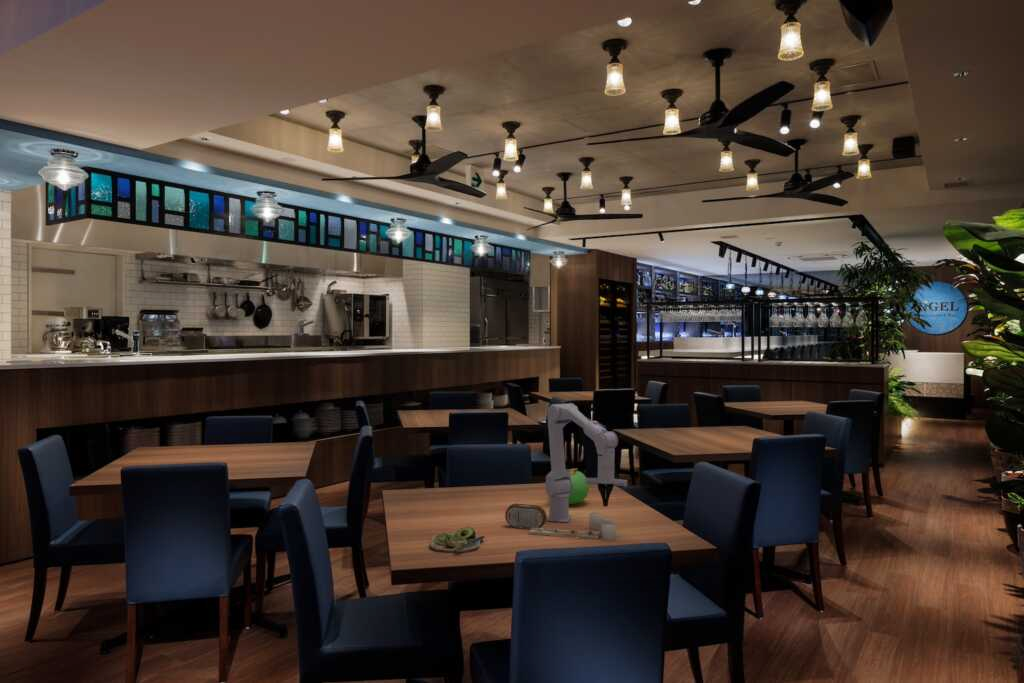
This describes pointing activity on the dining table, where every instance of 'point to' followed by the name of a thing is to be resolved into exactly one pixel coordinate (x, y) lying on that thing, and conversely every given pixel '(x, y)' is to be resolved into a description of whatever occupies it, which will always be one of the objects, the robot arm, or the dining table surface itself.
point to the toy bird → (577, 487)
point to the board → (565, 533)
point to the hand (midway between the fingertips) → (605, 505)
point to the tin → (525, 516)
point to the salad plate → (457, 541)
